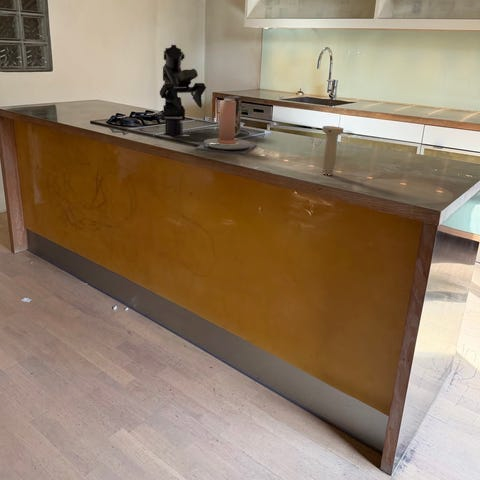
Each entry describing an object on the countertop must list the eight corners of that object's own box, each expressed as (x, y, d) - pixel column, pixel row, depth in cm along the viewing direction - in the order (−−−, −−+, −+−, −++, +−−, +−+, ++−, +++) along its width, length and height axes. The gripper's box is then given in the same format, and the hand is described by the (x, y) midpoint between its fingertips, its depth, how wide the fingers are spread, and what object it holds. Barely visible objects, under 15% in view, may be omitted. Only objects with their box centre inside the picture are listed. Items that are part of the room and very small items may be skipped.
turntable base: (195, 149, 182) (195, 147, 181) (211, 140, 199) (211, 139, 198) (243, 154, 177) (243, 153, 177) (256, 145, 194) (256, 144, 194)
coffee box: (236, 136, 211) (238, 98, 205) (222, 135, 212) (223, 97, 206) (240, 133, 219) (242, 96, 213) (226, 131, 220) (228, 95, 214)
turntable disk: (197, 146, 182) (197, 144, 181) (212, 138, 198) (212, 136, 197) (242, 151, 177) (242, 149, 177) (255, 143, 193) (255, 140, 193)
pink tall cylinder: (213, 142, 185) (214, 99, 179) (221, 139, 192) (223, 98, 186) (231, 145, 183) (233, 101, 177) (239, 141, 189) (241, 99, 183)
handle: (321, 171, 159) (326, 125, 153) (339, 175, 156) (345, 128, 150) (315, 174, 155) (320, 127, 149) (333, 177, 152) (339, 129, 146)
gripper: (162, 60, 180) (178, 94, 177) (203, 61, 191) (219, 93, 188) (152, 81, 189) (167, 113, 185) (192, 80, 200) (207, 111, 196)
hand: (191, 107), depth 188 cm, fingers open, 9 cm apart
